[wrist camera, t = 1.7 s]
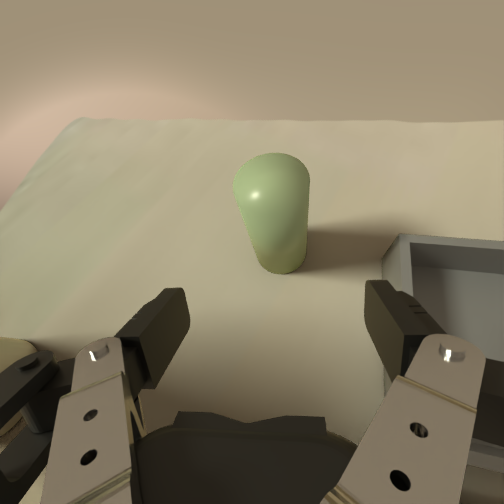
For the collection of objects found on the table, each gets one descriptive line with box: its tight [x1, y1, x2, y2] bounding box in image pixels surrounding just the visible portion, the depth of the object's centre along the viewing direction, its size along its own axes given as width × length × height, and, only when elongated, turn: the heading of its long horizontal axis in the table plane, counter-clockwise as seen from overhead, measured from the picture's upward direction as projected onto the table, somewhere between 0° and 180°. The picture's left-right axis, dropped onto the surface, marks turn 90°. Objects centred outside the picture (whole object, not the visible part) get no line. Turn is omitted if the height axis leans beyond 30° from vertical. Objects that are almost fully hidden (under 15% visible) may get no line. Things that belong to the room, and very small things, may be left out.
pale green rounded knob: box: [233, 153, 310, 274], centre depth 22 cm, size 5×5×11 cm
